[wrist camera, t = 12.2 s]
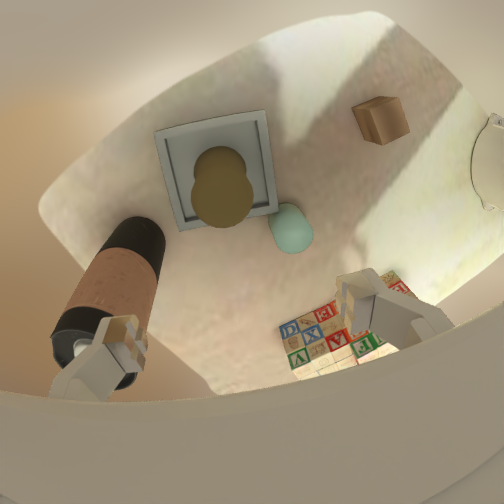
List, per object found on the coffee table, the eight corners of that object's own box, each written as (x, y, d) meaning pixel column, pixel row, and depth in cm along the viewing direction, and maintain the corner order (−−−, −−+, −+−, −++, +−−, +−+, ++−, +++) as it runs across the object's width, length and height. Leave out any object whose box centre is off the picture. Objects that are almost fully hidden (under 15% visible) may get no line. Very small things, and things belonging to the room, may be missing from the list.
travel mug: (178, 253, 36) (157, 383, 19) (132, 274, 37) (92, 396, 19) (149, 204, 32) (91, 315, 15) (102, 229, 33) (31, 340, 16)
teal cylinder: (298, 198, 34) (309, 213, 30) (304, 229, 37) (316, 247, 32) (264, 208, 35) (271, 224, 30) (272, 238, 37) (280, 258, 33)
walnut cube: (378, 96, 29) (398, 97, 25) (390, 127, 31) (410, 132, 27) (351, 107, 29) (369, 109, 26) (364, 139, 32) (382, 145, 28)
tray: (262, 109, 29) (265, 109, 27) (275, 206, 35) (279, 212, 33) (157, 131, 28) (153, 132, 26) (180, 225, 34) (179, 231, 33)
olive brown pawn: (211, 136, 29) (208, 150, 19) (256, 163, 31) (276, 191, 21) (183, 181, 31) (170, 217, 21) (228, 205, 33) (235, 251, 23)
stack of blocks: (291, 346, 48) (308, 403, 37) (278, 325, 45) (295, 386, 34) (396, 293, 46) (432, 339, 35) (392, 268, 43) (433, 315, 32)
